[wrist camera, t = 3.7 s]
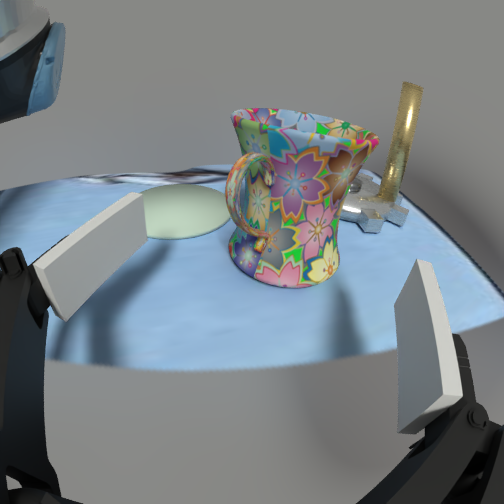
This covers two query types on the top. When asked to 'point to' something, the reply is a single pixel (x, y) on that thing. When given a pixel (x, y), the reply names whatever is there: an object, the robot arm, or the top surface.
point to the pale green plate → (183, 211)
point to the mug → (292, 192)
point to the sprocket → (386, 172)
